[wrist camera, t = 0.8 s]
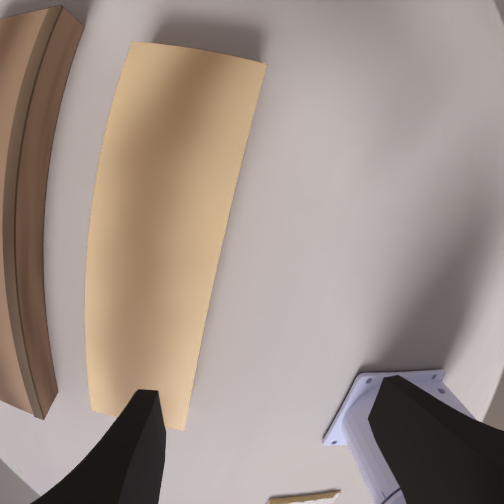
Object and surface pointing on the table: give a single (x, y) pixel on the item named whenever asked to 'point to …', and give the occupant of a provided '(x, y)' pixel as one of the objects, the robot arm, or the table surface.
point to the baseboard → (307, 499)
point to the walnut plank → (28, 194)
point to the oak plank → (162, 219)
